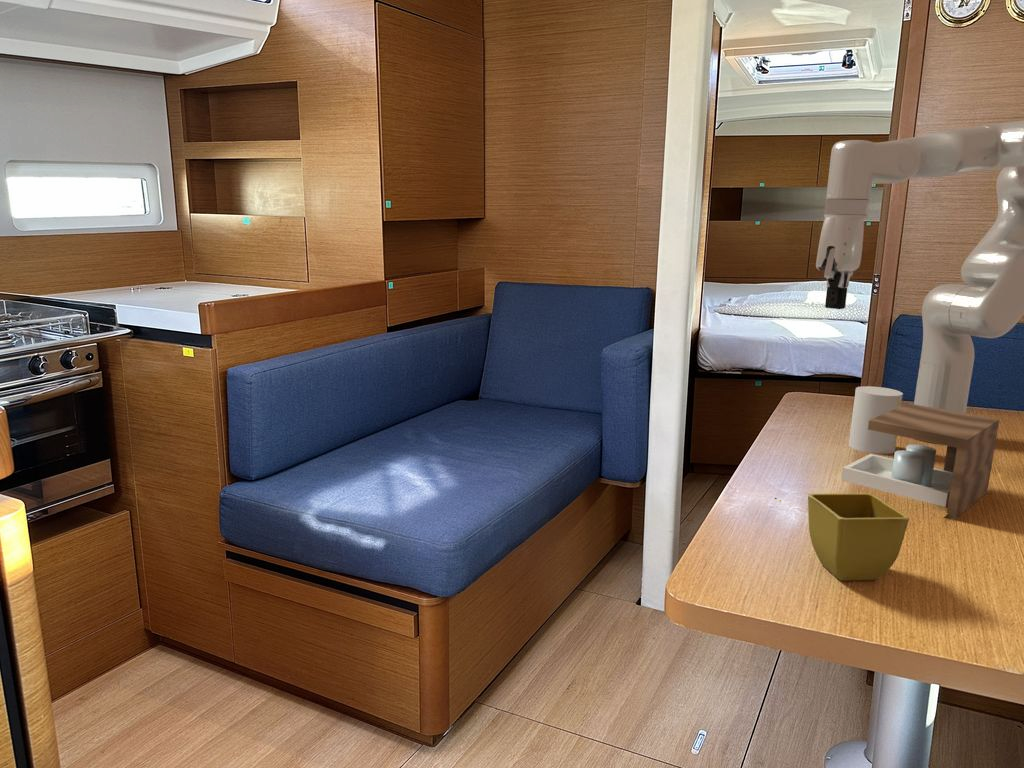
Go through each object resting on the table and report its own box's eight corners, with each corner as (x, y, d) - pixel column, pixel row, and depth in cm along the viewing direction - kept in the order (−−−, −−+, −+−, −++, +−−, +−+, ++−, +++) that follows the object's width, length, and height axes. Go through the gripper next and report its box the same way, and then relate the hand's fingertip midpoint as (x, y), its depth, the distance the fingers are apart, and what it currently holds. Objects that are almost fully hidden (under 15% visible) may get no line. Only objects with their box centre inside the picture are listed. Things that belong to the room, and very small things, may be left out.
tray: (868, 469, 137) (870, 453, 137) (967, 493, 126) (970, 476, 126) (840, 484, 129) (842, 467, 128) (944, 511, 118) (947, 493, 117)
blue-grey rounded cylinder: (895, 483, 128) (900, 448, 127) (923, 490, 125) (929, 455, 124) (885, 489, 125) (890, 453, 124) (914, 496, 122) (919, 460, 121)
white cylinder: (899, 459, 144) (908, 397, 141) (853, 455, 145) (861, 394, 143) (887, 447, 152) (896, 388, 149) (844, 443, 153) (851, 385, 151)
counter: (898, 471, 137) (907, 403, 134) (987, 492, 127) (999, 419, 125) (859, 494, 124) (869, 420, 121) (954, 520, 115) (967, 439, 112)
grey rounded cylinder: (907, 476, 132) (911, 443, 130) (934, 483, 128) (940, 448, 127) (897, 482, 128) (902, 447, 127) (925, 489, 125) (931, 454, 124)
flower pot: (798, 557, 100) (806, 492, 98) (862, 556, 101) (871, 492, 99) (831, 589, 92) (840, 518, 90) (901, 588, 92) (911, 518, 91)
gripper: (842, 210, 151) (831, 304, 155) (809, 208, 140) (798, 308, 144) (882, 211, 145) (869, 307, 149) (851, 209, 135) (838, 313, 139)
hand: (834, 308), depth 147 cm, fingers closed
